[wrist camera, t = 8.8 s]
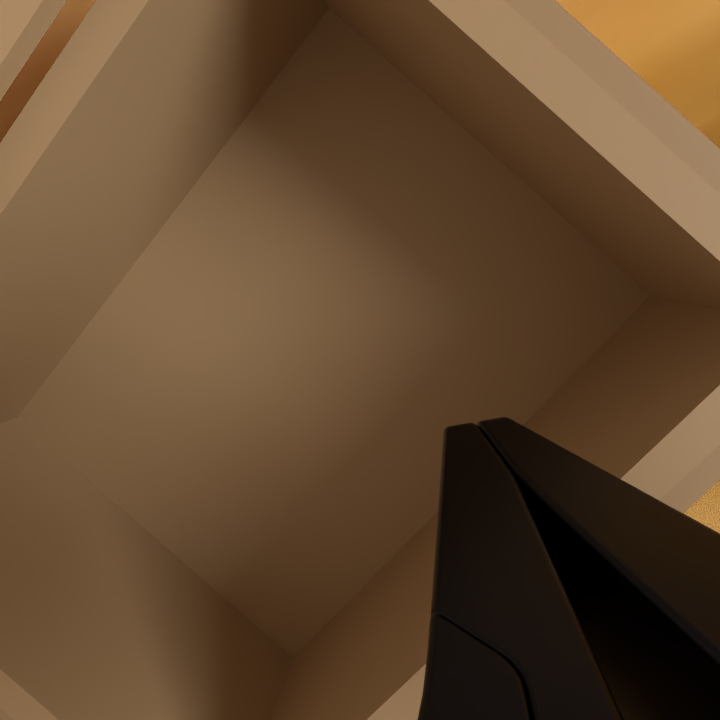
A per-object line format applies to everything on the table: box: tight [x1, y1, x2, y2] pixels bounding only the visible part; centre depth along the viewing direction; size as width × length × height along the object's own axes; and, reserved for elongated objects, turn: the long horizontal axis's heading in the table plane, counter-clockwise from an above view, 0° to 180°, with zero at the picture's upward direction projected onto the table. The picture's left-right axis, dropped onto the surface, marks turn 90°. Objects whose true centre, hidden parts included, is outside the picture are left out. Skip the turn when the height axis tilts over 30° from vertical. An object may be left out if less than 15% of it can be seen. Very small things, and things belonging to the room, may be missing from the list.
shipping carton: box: [0, 0, 720, 720], centre depth 17 cm, size 15×19×8 cm
